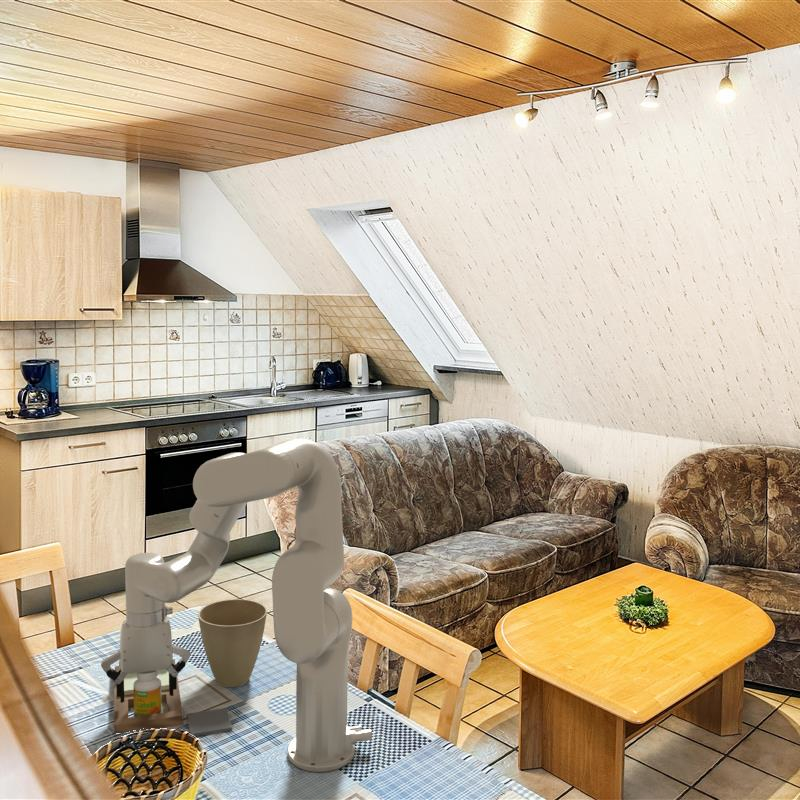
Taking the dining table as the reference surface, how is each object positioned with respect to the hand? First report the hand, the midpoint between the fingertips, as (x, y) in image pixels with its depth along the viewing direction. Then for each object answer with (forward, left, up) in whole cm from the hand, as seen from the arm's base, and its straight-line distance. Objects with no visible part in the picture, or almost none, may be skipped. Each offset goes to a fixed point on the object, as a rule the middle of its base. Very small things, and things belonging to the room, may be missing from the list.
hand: (147, 695), depth 161 cm
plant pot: (-19, -10, -4) cm, 21 cm away
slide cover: (0, -10, -2) cm, 10 cm away
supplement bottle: (0, 0, -4) cm, 4 cm away
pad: (-12, +7, -4) cm, 14 cm away
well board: (0, -7, -4) cm, 8 cm away
